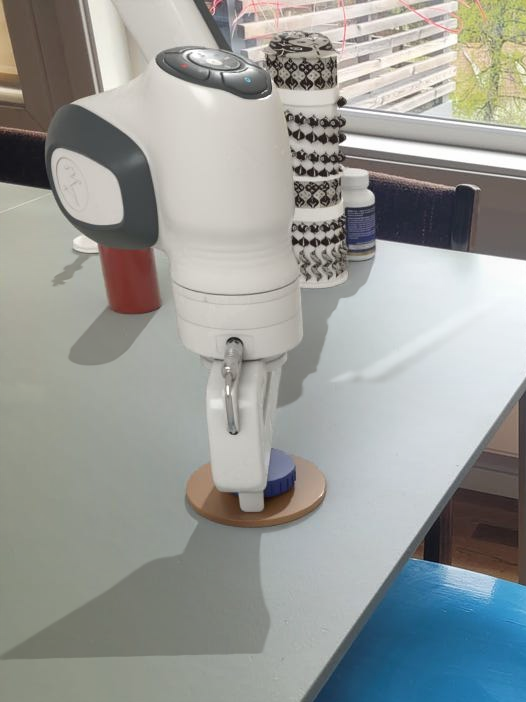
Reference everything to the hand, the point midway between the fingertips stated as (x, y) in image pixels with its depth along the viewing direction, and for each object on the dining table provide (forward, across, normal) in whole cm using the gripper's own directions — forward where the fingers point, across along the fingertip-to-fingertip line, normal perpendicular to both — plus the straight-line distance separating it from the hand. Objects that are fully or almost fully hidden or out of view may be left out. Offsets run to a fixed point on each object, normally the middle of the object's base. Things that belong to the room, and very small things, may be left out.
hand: (256, 483), depth 80 cm
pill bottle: (+1, +58, -8) cm, 59 cm away
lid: (-2, 0, 0) cm, 2 cm away
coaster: (+1, 0, 0) cm, 1 cm away
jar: (+1, +40, +16) cm, 43 cm away
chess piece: (+1, +59, +24) cm, 64 cm away
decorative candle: (+1, +50, -3) cm, 50 cm away
